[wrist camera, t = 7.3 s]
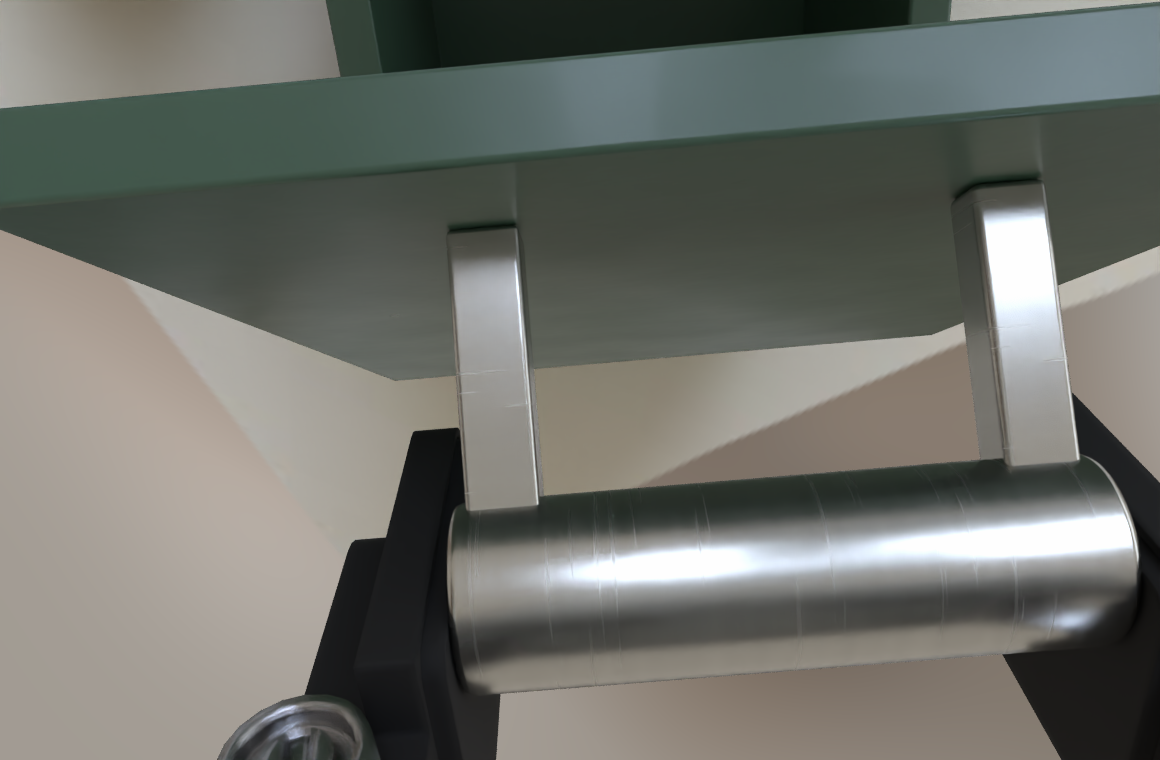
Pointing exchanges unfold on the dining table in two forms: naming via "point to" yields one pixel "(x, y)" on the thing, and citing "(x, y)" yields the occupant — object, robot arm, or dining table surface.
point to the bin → (582, 27)
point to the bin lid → (679, 310)
